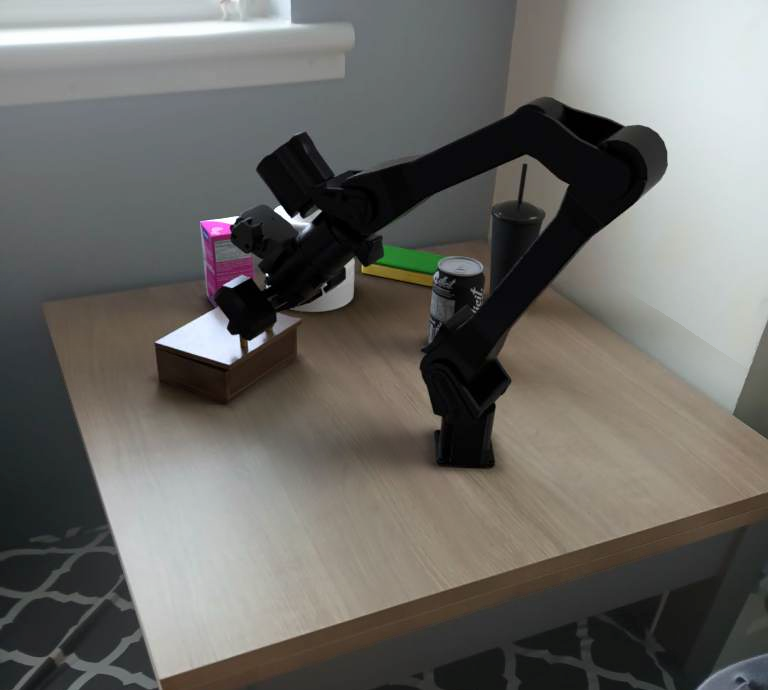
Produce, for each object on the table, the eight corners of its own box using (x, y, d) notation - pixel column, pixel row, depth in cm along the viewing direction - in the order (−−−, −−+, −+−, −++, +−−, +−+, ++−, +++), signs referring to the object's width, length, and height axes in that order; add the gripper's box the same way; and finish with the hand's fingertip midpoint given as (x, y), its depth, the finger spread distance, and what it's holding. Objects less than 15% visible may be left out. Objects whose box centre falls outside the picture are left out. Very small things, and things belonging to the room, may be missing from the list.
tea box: (297, 357, 115) (296, 326, 112) (227, 405, 105) (225, 373, 102) (232, 334, 119) (230, 305, 116) (158, 379, 108) (154, 347, 106)
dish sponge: (445, 290, 133) (447, 274, 132) (360, 273, 137) (361, 258, 135) (458, 273, 139) (460, 258, 137) (376, 257, 142) (377, 242, 141)
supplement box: (205, 298, 127) (198, 219, 120) (244, 292, 129) (240, 215, 122) (216, 315, 123) (211, 235, 116) (257, 309, 125) (254, 230, 118)
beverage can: (476, 341, 121) (486, 257, 113) (475, 364, 116) (486, 277, 108) (428, 337, 121) (436, 252, 114) (425, 359, 116) (433, 272, 108)
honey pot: (257, 279, 133) (252, 156, 122) (337, 271, 137) (340, 151, 126) (279, 316, 124) (277, 186, 113) (365, 306, 128) (371, 180, 116)
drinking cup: (474, 308, 129) (491, 168, 117) (485, 288, 135) (502, 152, 122) (526, 317, 127) (549, 176, 115) (534, 296, 133) (557, 160, 121)
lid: (302, 324, 111) (300, 288, 109) (230, 370, 101) (226, 332, 98) (230, 304, 116) (227, 270, 113) (154, 347, 106) (148, 310, 103)
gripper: (323, 166, 100) (251, 242, 111) (219, 212, 87) (150, 292, 98) (381, 248, 102) (305, 314, 113) (288, 304, 89) (213, 373, 100)
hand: (246, 321), depth 106 cm, fingers closed on lid, 6 cm apart
